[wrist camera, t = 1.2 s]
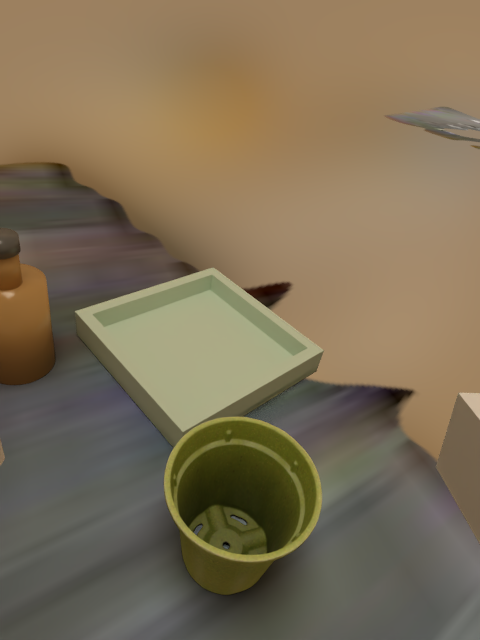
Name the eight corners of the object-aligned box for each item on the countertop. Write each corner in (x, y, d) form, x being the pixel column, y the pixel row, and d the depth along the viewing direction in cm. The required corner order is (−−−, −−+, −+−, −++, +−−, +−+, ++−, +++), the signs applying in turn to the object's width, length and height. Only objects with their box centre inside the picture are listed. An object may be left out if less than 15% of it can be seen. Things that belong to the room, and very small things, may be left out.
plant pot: (129, 581, 29) (130, 510, 24) (195, 468, 36) (207, 396, 31) (262, 655, 27) (297, 596, 22) (303, 520, 34) (337, 451, 29)
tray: (76, 334, 46) (74, 311, 44) (210, 287, 57) (213, 267, 55) (179, 455, 37) (182, 432, 35) (316, 371, 48) (323, 350, 46)
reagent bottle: (-25, 354, 42) (-59, 227, 34) (39, 333, 45) (22, 213, 37) (-1, 394, 39) (-32, 264, 31) (66, 368, 42) (54, 245, 34)
